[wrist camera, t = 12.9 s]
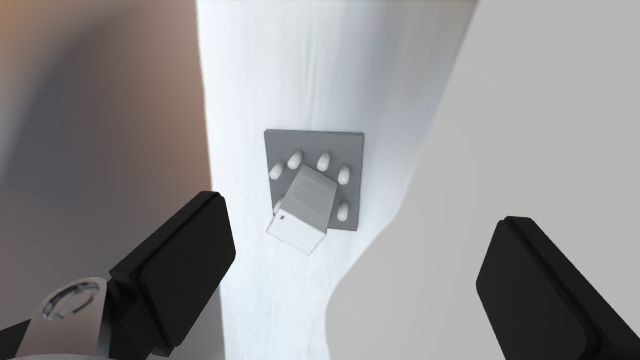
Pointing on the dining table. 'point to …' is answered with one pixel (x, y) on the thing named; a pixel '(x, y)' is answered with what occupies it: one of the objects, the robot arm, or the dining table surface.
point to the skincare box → (304, 211)
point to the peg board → (318, 168)
